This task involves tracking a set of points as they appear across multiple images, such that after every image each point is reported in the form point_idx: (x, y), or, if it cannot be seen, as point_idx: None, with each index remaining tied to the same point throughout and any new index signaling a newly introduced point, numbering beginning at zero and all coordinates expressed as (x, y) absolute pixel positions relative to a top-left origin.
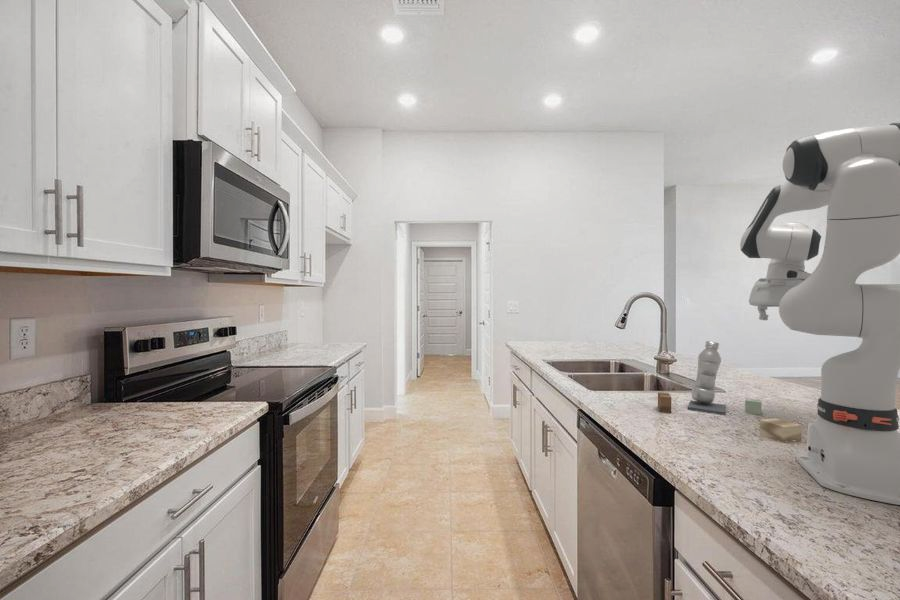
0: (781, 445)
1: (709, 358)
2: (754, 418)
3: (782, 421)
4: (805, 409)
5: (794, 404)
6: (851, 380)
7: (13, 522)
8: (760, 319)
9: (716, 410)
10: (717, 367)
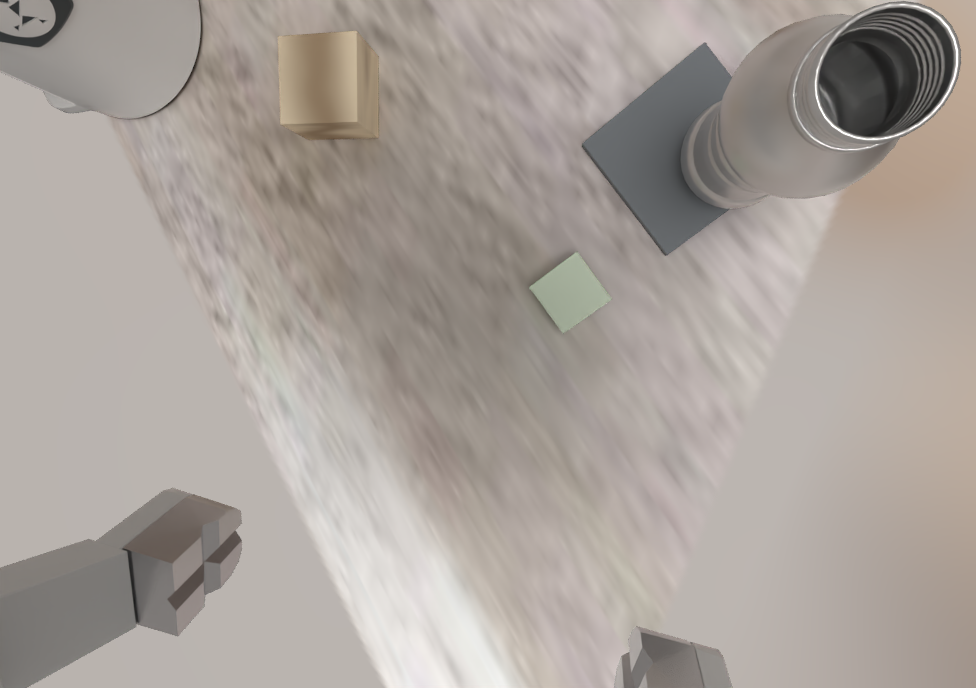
0: (290, 25)
1: (761, 42)
2: (512, 219)
3: (324, 99)
4: (535, 533)
5: (598, 575)
6: None
7: None
8: (692, 643)
9: (615, 129)
10: (717, 139)
